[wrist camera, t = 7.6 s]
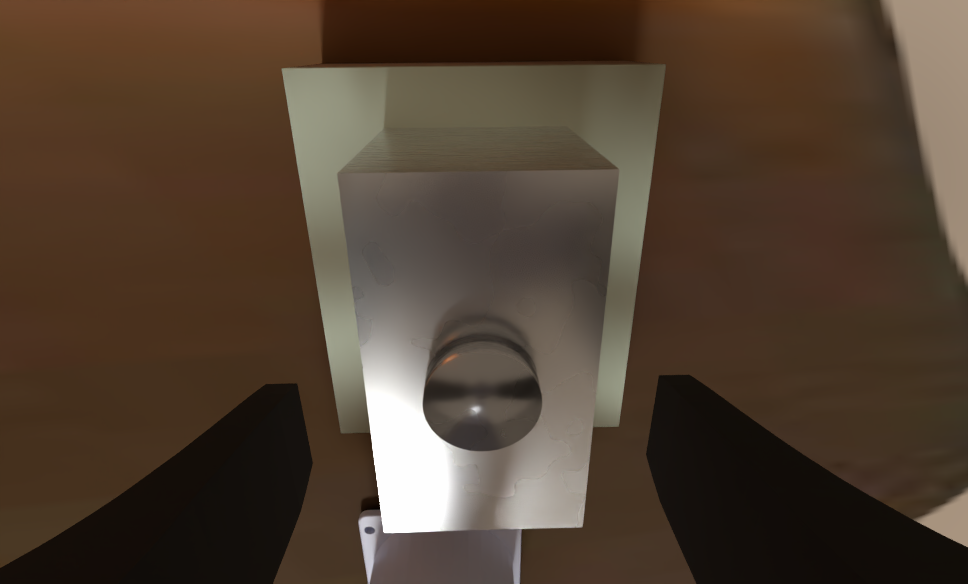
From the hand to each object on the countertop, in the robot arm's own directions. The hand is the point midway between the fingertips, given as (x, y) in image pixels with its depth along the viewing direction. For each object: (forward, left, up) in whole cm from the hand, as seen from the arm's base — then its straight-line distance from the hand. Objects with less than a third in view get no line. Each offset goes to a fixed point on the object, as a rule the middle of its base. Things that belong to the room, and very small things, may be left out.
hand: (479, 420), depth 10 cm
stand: (0, 0, -10) cm, 10 cm away
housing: (0, 0, -6) cm, 6 cm away
